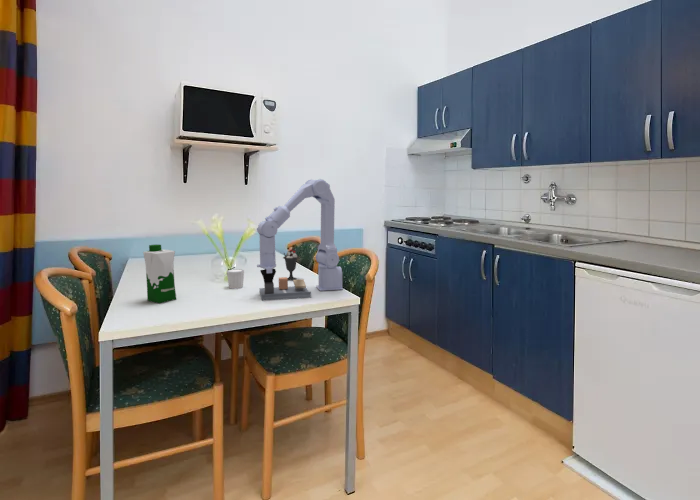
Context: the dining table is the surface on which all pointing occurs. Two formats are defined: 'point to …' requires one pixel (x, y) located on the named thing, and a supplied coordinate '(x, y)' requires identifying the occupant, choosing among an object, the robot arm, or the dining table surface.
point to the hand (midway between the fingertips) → (268, 288)
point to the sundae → (290, 262)
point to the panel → (285, 293)
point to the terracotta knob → (283, 283)
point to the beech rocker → (299, 283)
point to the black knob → (269, 287)
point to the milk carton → (160, 274)
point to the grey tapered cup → (235, 278)
